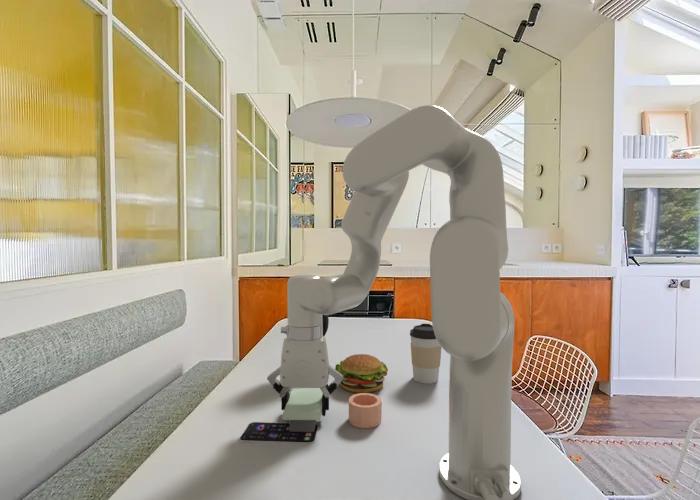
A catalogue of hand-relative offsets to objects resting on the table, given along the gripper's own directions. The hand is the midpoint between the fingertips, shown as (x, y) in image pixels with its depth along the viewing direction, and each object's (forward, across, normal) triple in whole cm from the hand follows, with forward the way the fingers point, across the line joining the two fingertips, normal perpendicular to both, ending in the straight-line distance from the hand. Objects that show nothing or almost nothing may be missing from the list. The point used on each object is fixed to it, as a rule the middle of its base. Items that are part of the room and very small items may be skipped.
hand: (305, 412), depth 78 cm
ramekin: (+2, +13, 0) cm, 13 cm away
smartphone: (+2, -4, -5) cm, 7 cm away
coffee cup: (+2, +31, +24) cm, 39 cm away
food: (+2, +13, +20) cm, 24 cm away
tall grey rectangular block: (+2, 0, 0) cm, 2 cm away
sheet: (-1, 0, 0) cm, 1 cm away
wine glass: (+2, -2, +28) cm, 28 cm away
